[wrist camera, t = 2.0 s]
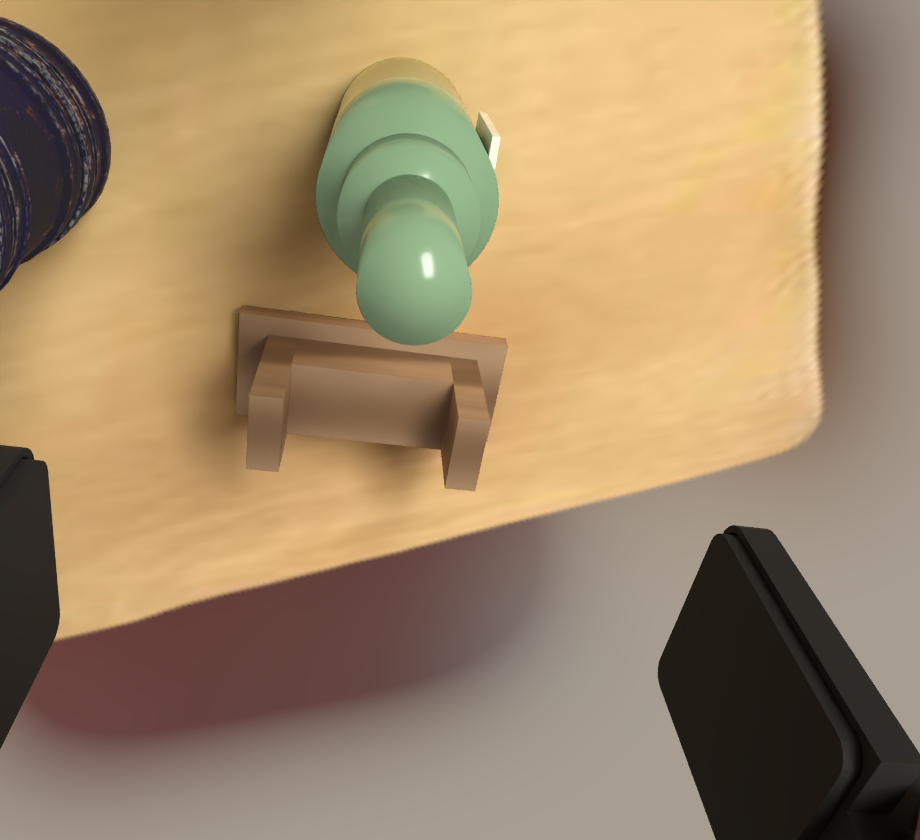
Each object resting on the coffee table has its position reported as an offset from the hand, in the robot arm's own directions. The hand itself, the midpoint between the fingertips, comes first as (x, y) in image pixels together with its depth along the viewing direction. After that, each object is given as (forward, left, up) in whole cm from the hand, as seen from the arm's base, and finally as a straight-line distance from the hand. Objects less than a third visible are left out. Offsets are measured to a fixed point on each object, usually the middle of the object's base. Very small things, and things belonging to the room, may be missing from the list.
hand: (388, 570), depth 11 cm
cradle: (+12, +1, -30) cm, 33 cm away
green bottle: (-1, +1, -30) cm, 30 cm away
